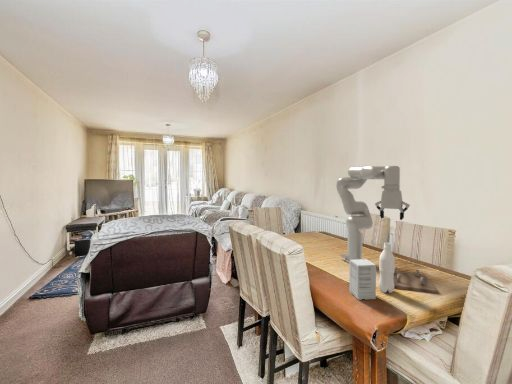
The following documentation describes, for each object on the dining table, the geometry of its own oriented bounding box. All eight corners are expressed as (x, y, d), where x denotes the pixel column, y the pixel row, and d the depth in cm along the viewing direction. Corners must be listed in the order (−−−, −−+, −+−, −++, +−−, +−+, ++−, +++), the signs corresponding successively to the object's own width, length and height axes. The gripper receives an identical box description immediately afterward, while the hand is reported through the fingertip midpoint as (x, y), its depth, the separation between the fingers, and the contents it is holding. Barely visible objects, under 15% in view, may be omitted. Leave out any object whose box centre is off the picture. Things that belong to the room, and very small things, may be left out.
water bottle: (375, 288, 133) (376, 241, 131) (388, 287, 133) (389, 241, 132) (383, 294, 126) (384, 245, 124) (397, 293, 126) (398, 244, 125)
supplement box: (376, 299, 121) (377, 265, 120) (357, 300, 120) (358, 265, 119) (365, 290, 130) (366, 258, 129) (348, 291, 130) (349, 259, 129)
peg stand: (389, 287, 134) (389, 277, 133) (383, 272, 154) (383, 263, 154) (438, 293, 126) (438, 283, 126) (425, 277, 147) (425, 267, 146)
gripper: (373, 188, 143) (373, 218, 144) (407, 188, 131) (407, 221, 132) (377, 187, 149) (377, 216, 149) (411, 188, 137) (411, 219, 137)
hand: (391, 218), depth 141 cm, fingers open, 9 cm apart
